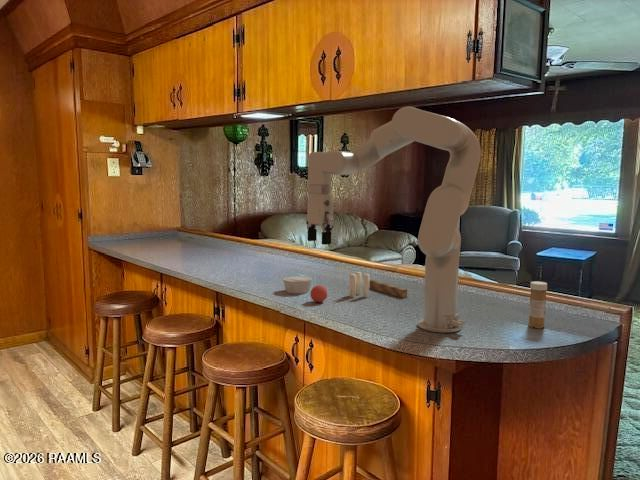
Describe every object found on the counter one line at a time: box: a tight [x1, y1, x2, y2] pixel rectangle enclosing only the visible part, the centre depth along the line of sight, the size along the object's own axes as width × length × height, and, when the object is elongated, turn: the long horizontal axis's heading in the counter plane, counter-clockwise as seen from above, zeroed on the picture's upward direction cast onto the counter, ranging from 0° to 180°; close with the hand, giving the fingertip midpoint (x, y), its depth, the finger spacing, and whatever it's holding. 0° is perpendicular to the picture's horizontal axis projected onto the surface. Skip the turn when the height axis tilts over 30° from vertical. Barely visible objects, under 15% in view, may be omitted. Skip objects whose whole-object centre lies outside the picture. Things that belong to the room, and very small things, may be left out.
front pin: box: [349, 273, 357, 299], centre depth 181 cm, size 2×2×8 cm
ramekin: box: [283, 275, 313, 295], centre depth 190 cm, size 11×11×5 cm
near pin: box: [362, 273, 371, 298], centre depth 181 cm, size 2×2×8 cm
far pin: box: [354, 271, 362, 296], centre depth 185 cm, size 2×2×8 cm
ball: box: [310, 285, 328, 303], centre depth 173 cm, size 6×6×6 cm
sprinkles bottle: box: [528, 280, 548, 329], centre depth 144 cm, size 5×5×13 cm
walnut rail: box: [369, 278, 408, 299], centre depth 190 cm, size 22×2×3 cm, turn 32°
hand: (319, 242), depth 160 cm, fingers open, 9 cm apart
